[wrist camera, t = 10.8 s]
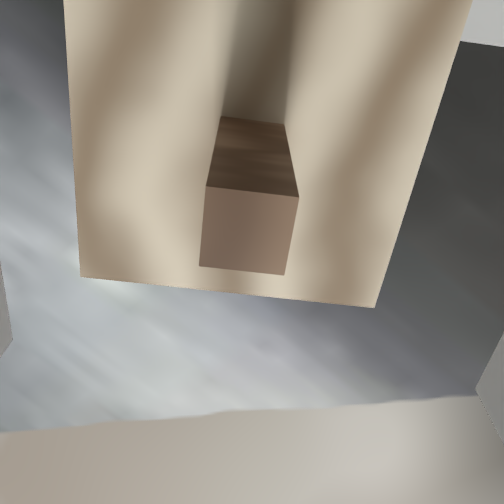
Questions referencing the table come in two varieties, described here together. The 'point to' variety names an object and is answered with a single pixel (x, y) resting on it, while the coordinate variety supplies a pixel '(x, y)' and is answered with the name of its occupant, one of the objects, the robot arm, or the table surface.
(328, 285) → the lid
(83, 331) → the table surface
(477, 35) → the tray
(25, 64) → the table surface
